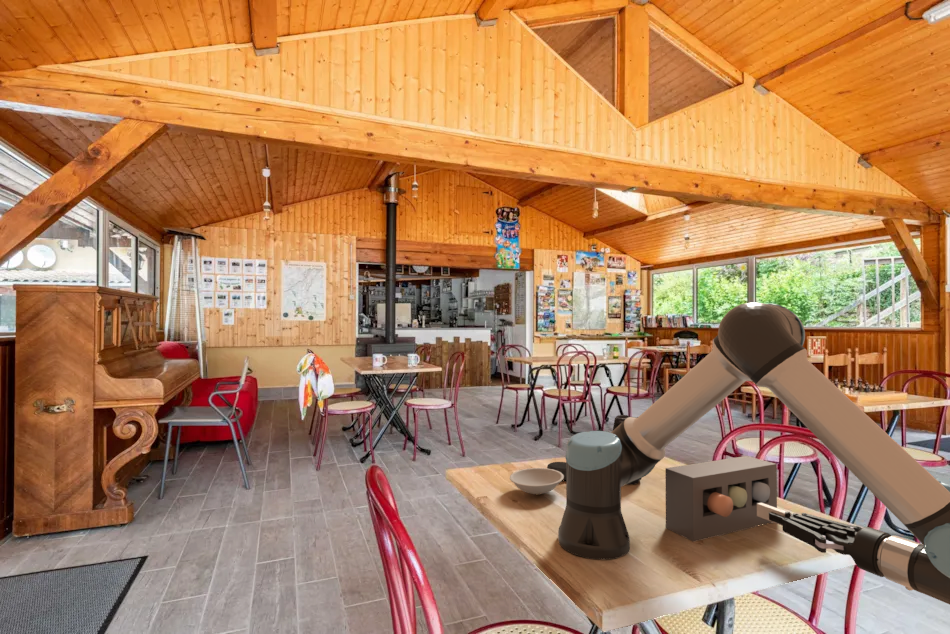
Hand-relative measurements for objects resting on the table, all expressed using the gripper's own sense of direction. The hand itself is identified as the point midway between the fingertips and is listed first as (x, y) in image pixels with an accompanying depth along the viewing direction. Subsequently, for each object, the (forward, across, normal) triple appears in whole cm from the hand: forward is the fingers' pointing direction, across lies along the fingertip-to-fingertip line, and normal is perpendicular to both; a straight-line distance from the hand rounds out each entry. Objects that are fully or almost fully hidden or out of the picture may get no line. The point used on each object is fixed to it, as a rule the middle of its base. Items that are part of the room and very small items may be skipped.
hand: (759, 509), depth 105 cm
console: (+11, +2, -8) cm, 13 cm away
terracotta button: (+6, -6, -2) cm, 9 cm away
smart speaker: (+57, -12, -8) cm, 59 cm away
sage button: (+9, +2, -2) cm, 9 cm away
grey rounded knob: (+9, +10, -2) cm, 14 cm away
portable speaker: (+46, +5, -8) cm, 47 cm away
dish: (+47, -27, -8) cm, 55 cm away
